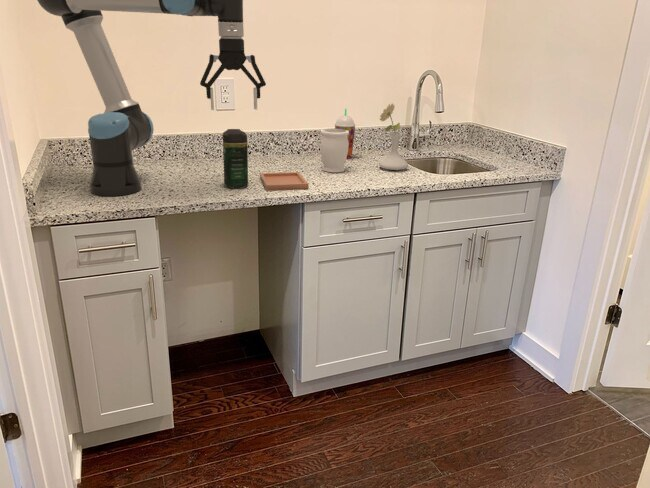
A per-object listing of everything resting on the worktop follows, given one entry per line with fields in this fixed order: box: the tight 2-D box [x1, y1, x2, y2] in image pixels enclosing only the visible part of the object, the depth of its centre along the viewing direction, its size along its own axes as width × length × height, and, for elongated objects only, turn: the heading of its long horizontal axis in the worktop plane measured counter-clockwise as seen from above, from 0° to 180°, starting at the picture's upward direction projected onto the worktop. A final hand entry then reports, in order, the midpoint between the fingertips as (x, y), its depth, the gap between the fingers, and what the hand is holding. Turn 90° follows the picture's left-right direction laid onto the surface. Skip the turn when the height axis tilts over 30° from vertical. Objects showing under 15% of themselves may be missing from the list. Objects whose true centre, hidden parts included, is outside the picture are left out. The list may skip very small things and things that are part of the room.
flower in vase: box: [378, 102, 409, 171], centre depth 202 cm, size 13×11×25 cm
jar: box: [319, 128, 349, 174], centre depth 200 cm, size 11×10×15 cm
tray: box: [259, 171, 309, 192], centre depth 183 cm, size 14×16×2 cm
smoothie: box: [334, 108, 356, 160], centre depth 220 cm, size 8×8×20 cm
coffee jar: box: [222, 128, 249, 189], centre depth 176 cm, size 10×8×19 cm
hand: (234, 109), depth 170 cm, fingers open, 13 cm apart
